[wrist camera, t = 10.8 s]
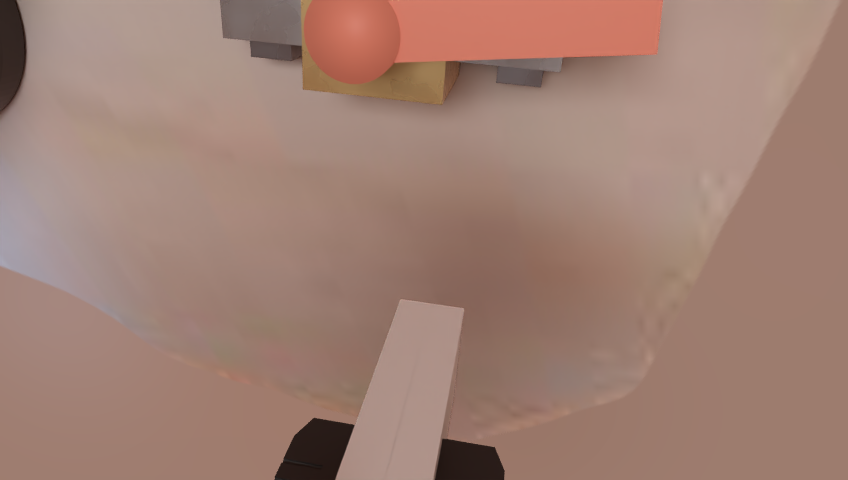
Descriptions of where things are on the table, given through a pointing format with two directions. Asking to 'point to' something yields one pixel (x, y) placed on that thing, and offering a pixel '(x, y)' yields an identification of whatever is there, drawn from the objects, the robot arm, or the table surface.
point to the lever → (472, 31)
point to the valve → (410, 81)
